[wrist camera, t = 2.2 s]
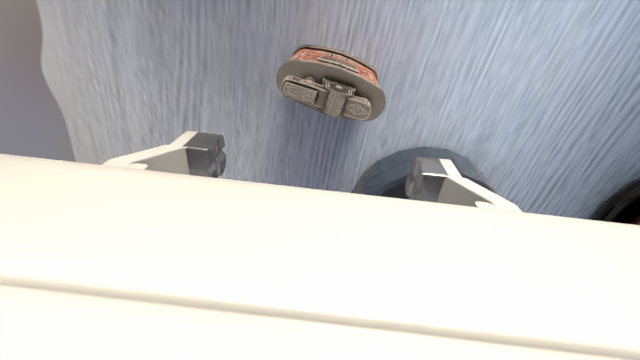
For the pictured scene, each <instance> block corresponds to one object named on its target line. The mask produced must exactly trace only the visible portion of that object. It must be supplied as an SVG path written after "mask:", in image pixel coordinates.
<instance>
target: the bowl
mask: <svg viewBox="0 0 640 360" xmlns="http://www.w3.org/2000/svg"><path fill="white" fill-rule="evenodd" d="M415 156H418V157H430V158H438V159H449V160H451V161H452V163H453V164H454V166H455V167H456V169H457V170H458V172H459V173H460V175H461V176H462V178H467V179H469V180H471V181H472V182H474V183H476V184H478V185H480V186H482V187H484V188H486V189H487V190H489V191H491V192H493V193H495V194H497V192H496V191H495V190H494V188H493V187H492V186H491V185H490V183H489V182H488V180H487V179H486V178H485V176H484V175H483V174H482V172H481V171H480V170H479V169H478V168H477V167H476V166H475V165H474V164H473V163H472V162H471V161H470V160H469V159H467V158H465V157H463V156H461V155H458V154H456V153H454V152H452V151H450V150H446V149H437V148H428V147H421V148H415V149H409V150H403V151H398V152H396V153H394V154H392V155H390V156H388V157H386V158H383V159H381V160H379V161H378V162H376V163H375V164H374V165H373V166H372V167H371V168H370V169H368V170H367V171H366V172H365V173H364V174H363V175H362V176H361V178H360V179H359V181H358V183H357V184H356V186H355V188H354V189H353V191H352V193H355V194H364V195H373V196H382V197H391V198H400V199H409V197H408V196H407V195H406V191H405V185H406V179H407V175H408V174H409V173H411V172H412V170H411V167H410V164H411V161H412V159H413V157H415ZM497 195H498V194H497Z"/></svg>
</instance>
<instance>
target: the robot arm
mask: <svg viewBox="0 0 640 360" xmlns="http://www.w3.org/2000/svg"><path fill="white" fill-rule="evenodd" d="M224 146H225V142H224V137H223V136H222V135H216V134H208V133H200V132H194V131H186V132H184V133H183V134H182V135H181V136H180V137H178V138H177V139H176V140H175V141H174V142H172V143H171V144H170V145H163V146H159V147H155V148H151V149H147V150H143V151H139V152H136V153H132V154H128V155H124V156H120V157H116V158H112V159H109V160H107V161H106V162H104V163H103V164H101V165H96V164H88V163H79V162H70V161H61V160H52V159H42V158H34V157H25V156H15V155H7V154H1V153H0V360H640V225H634V224H625V223H615V222H605V221H596V220H587V219H578V218H570V217H561V216H552V215H543V214H534V213H525V212H522V211H521V210H520V209H519V207H518V206H517V205H515V204H514V203H512V202H510V201H508V200H506V199H504V198H502V197H500V196H499V195H497V194H495V193H493V192H491V191H489V190H487V189H486V188H484V187H482V186H480V185H478V184H476V183H474V182H472V181H471V180H469V179H467V178H462V176H461V175H460V173H459V172H458V170H457V169H456V167H455V166H454V164H453V163H452V161H451V160H449V159H438V158H430V157H418V156H415V157H413V159H412V161H411V164H410V167H411V170H412V172H411V173H409V174H408V175H407V179H406V185H405V191H406V195H407V196H408V197H409V199H400V198H391V197H382V196H373V195H364V194H355V193H346V192H337V191H329V190H320V189H311V188H302V187H293V186H284V185H275V184H266V183H257V182H248V181H239V180H230V179H221V178H218V176H221V175H222V174H223V172H224V170H225V166H226V155H225V153H224V152H223V151H222V149H223V147H224Z"/></svg>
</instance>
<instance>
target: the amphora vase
mask: <svg viewBox="0 0 640 360" xmlns="http://www.w3.org/2000/svg"><path fill="white" fill-rule="evenodd" d="M592 220H596V221H605V222H615V223H625V224H634V225H640V178H639V179H637V180H635V181H633V182H631V183H630V184H628V185H627V186H625V187H624V188H623V189H621V190H620V191H619V192H617V193H616V194H614V195H613V196H612V197H611V198H610V199H609V200H608V201H607V202H606V203H605V204H604V205H603V206H602V207H601V208H600V209H599V210H598V211H597V213H596V214H595V216H594V218H593V219H592Z"/></svg>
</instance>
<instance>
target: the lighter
mask: <svg viewBox="0 0 640 360" xmlns="http://www.w3.org/2000/svg"><path fill="white" fill-rule="evenodd" d="M276 82H277V86H278V88H279V90H280V92H281V94H282V95H283V96H285V97H288V98H290V99H292V100H294V101H296V102H298V103H300V104H302V105H303V106H306V107H308V108H311V109H314V110H316V111H319V112H321V113H324V114H327V115H330V116H333V117H341V118H345V119H353V120H362V121H371V120H373V119H375V118H377V117H378V116H379V115H380V114H381V113H382V111H383V109H384V107H385V103H386V102H385V95H384V92H383V90H382V88H381V87H380V86H379V85H378V76H377V73H376V71H375V69H374V68H373V67H372V66H371V65H369V64H367V63H365V62H364V61H362V60H360V59H359V58H357V57H354V56H352V55H349V54H347V53H345V52H342V51H339V50H335V49H331V48H327V47H322V46H313V45H302V46H300V47H298V48H297V49H296V50H295V52H294V53H293V55H292V58H291V59H289V60H287V61H285V62H284V63H283V65H282V66H281V67H280V68H279V70H278V73H277V80H276Z"/></svg>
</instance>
